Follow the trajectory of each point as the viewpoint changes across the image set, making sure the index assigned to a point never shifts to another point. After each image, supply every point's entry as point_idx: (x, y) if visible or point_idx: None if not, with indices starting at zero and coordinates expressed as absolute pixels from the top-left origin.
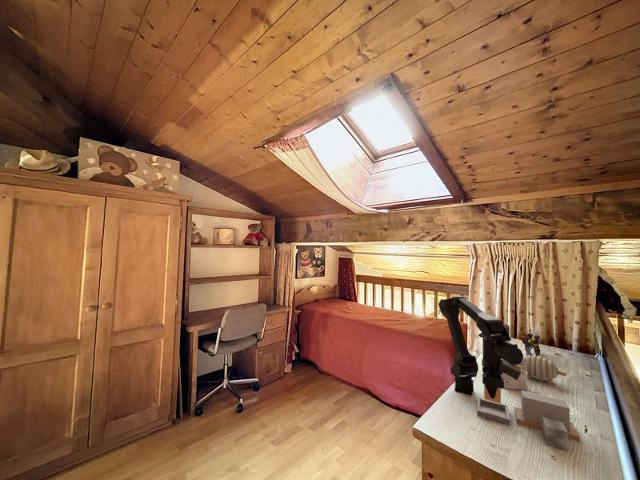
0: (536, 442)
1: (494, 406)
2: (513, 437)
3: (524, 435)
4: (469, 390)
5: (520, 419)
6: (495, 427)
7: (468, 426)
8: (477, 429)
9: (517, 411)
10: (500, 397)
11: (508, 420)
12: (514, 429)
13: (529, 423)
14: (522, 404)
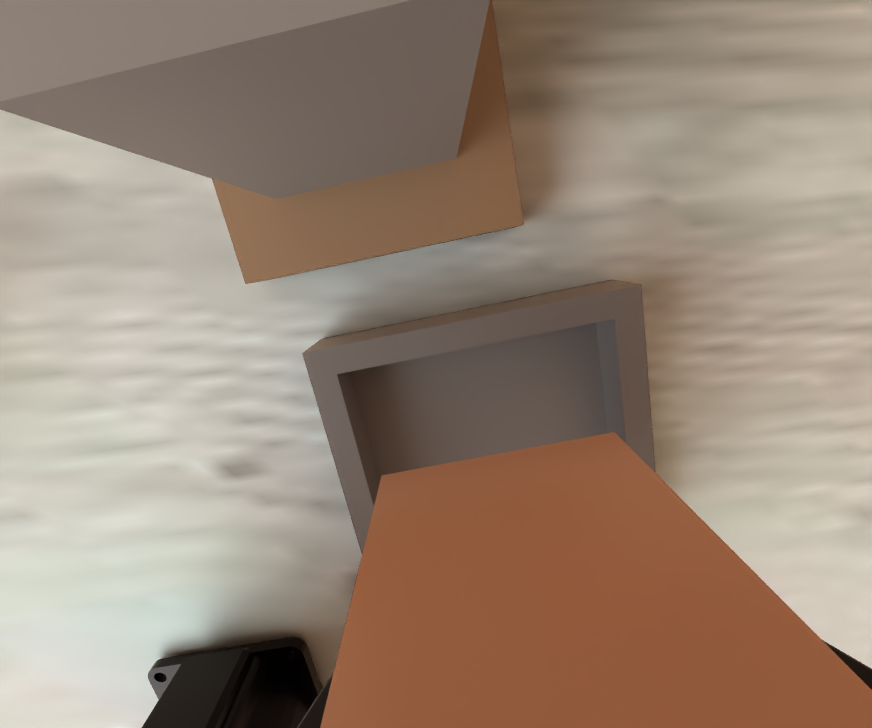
0: (766, 13)
1: (371, 452)
2: (807, 226)
3: (703, 137)
4: (263, 685)
5: (504, 187)
6: (729, 383)
7: (850, 553)
8: (855, 493)
9: (332, 237)
10: (672, 496)
11: (638, 297)
12: (651, 235)
13: (502, 88)
14: (358, 134)
